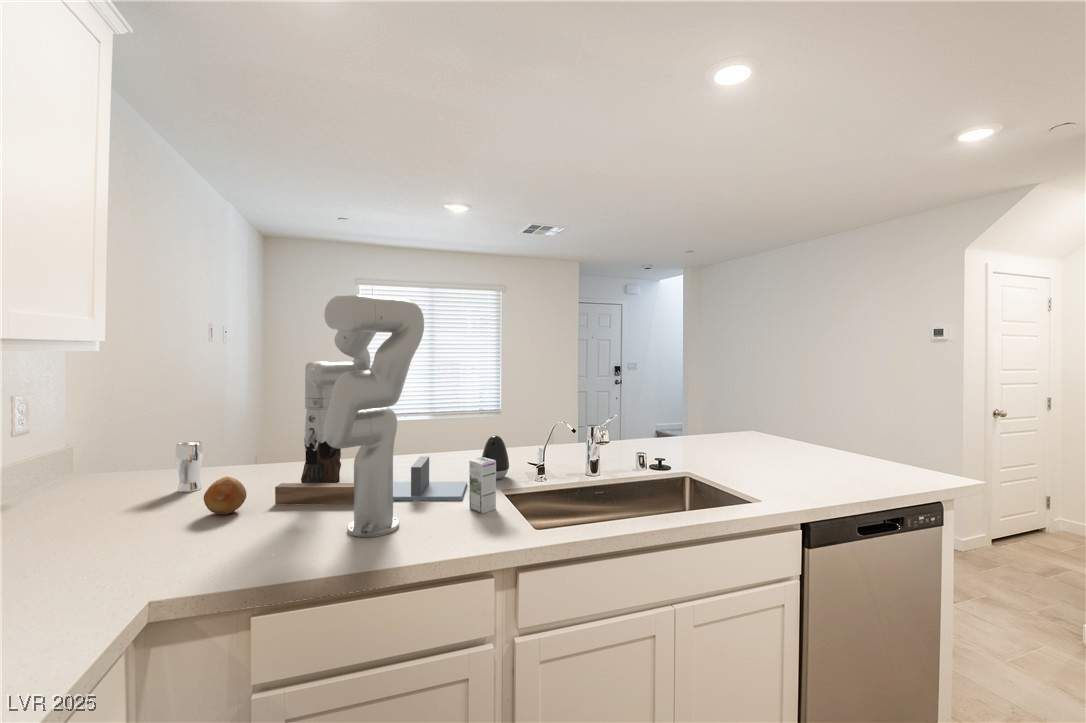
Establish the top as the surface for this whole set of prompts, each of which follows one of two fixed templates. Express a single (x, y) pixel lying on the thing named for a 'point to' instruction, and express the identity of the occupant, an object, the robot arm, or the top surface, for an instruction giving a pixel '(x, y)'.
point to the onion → (225, 496)
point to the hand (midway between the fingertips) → (318, 459)
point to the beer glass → (189, 465)
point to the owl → (323, 468)
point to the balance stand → (426, 486)
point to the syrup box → (482, 484)
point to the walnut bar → (314, 493)
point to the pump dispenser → (497, 455)
